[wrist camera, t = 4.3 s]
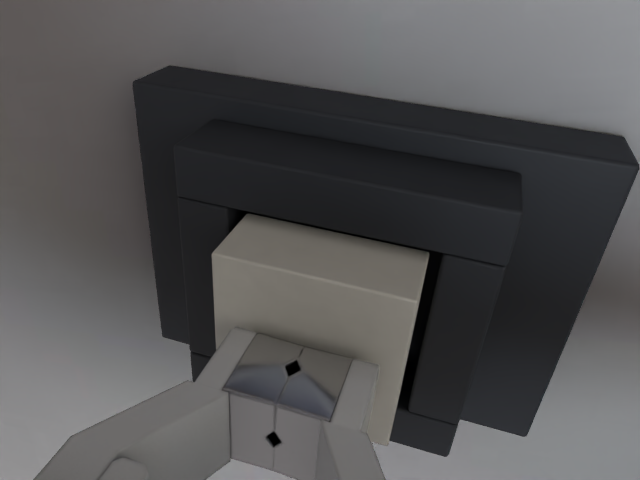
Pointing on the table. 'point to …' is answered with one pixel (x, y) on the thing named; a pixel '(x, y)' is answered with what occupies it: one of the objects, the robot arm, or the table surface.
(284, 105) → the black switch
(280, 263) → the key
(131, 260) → the table surface
